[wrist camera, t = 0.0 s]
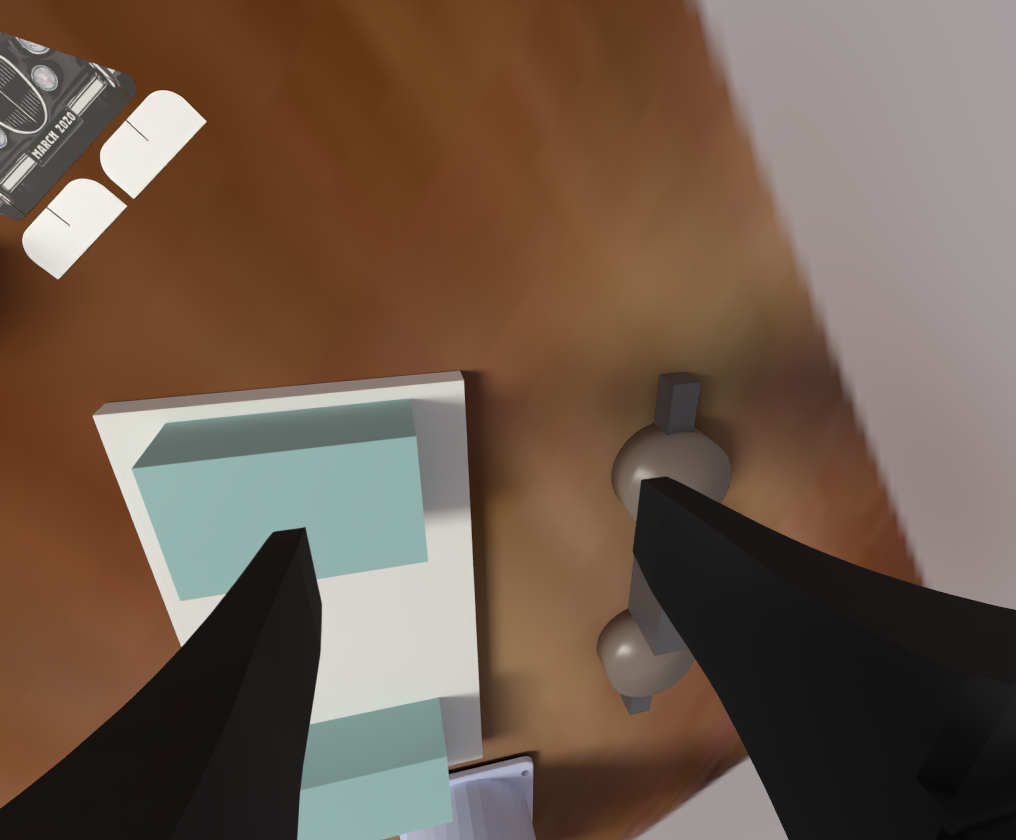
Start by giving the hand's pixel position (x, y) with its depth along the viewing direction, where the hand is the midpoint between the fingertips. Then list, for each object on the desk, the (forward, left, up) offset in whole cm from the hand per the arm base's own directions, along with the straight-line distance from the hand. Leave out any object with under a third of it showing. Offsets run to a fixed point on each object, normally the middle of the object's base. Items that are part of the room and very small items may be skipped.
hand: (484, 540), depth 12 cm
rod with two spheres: (-11, -10, -10) cm, 18 cm away
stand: (-11, +5, -10) cm, 16 cm away
